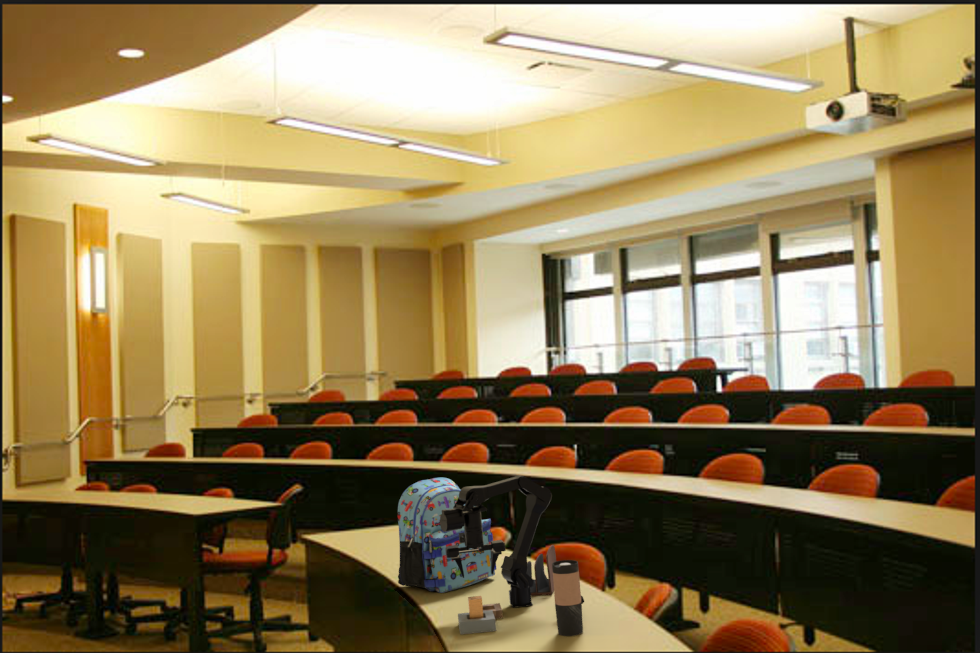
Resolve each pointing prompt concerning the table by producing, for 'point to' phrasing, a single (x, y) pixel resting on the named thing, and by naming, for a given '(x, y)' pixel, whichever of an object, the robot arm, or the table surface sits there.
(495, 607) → the mount
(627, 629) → the table surface
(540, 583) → the letter holder
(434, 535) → the backpack
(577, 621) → the travel mug
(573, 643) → the table surface
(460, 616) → the socket
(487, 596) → the table surface
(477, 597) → the peg
